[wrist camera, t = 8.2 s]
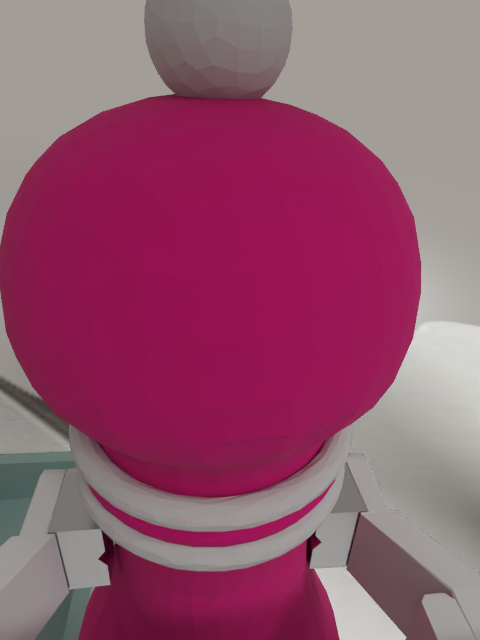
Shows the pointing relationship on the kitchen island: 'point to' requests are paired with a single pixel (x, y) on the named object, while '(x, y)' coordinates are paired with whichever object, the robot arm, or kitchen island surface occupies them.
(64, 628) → the tote
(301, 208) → the pepper mill
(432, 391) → the kitchen island surface
